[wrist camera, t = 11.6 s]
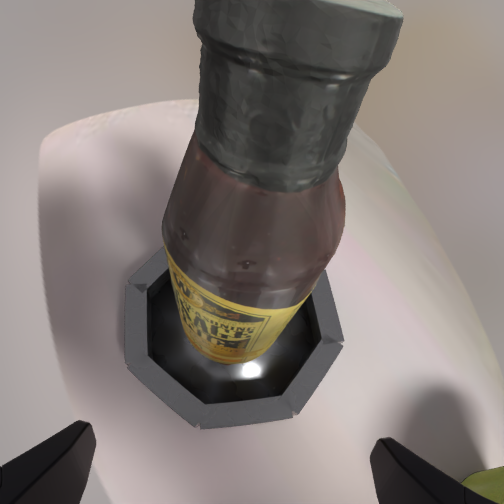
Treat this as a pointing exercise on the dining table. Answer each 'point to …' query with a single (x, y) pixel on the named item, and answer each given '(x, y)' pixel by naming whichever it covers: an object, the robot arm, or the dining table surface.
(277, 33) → the sauce bottle
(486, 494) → the plant pot
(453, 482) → the robot arm
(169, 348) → the dark grey octagonal tray
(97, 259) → the dining table surface
